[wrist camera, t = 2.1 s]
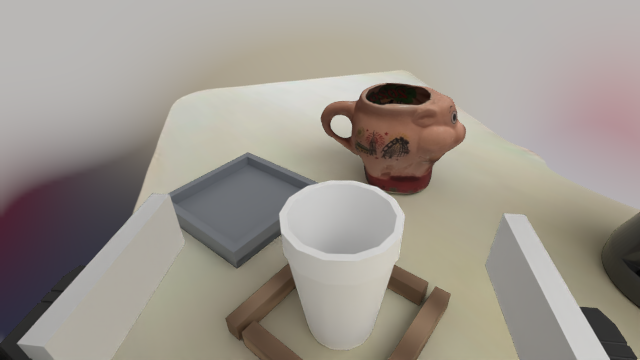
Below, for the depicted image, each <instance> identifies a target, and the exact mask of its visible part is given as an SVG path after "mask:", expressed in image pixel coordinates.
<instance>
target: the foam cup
mask: <svg viewBox="0 0 640 360" xmlns="http://www.w3.org/2000/svg"><path fill="white" fill-rule="evenodd" d="M279 217H280V227H281V237H282V245H283V253H284V256H285V257H286V258H287V260H288V262H289V265H290V268H291V271H292V275H293V278H294V281H295V285H296V288H297V291H298V294H299V298H300V301H301V304H302V307H303V311H304V314H305V317H306V321H307V324H308V327H309V329H310V332H311V333H312V335H313V336H314V337H315V339H316V340H317V341H318V343H320V344H322V345H324V346H326V347H328V348H330V349H332V350H350V349H352V348H355V347H357V346H360V345H362V344H363V343H364V342H365V340H366V339H367V338H368V337H369V336H370V335H371V332H372V330H373V327H374V324H375V321H376V318H377V315H378V312H379V309H380V306H381V303H382V300H383V297H384V294H385V291H386V288H387V285H388V282H389V279H390V276H391V272H392V269H393V266H394V263H395V262H396V261H397V260H398V259H399V255H400V248H401V241H402V234H403V227H404V220H405V215H404V213H403V211H402V210H401V208H400V206H399V204H398V203H397V201H396V199H394V198H393V197H391V196H390V195H388V194H387V193H385V192H384V191H382V190H381V189H379V188H378V187H375V186H372V185H368V184H364V183H361V182H357V181H337V180H330V181H326V182H322V183H318V184H314V185H310V186H307V187H305V188H303V189H302V190H300V191H299V192H297V193H295V194H294V195H292V196H291V197H289V198H288V200H287V202H286V203H285V205H284V206H283V208H282V210H281V211H280V213H279Z"/></svg>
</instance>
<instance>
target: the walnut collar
mask: <svg viewBox="0 0 640 360" xmlns="http://www.w3.org/2000/svg"><path fill="white" fill-rule="evenodd" d="M295 287H296V285H295V281H294V278H293V275H292V271H291V268H290V265H289V263H288V264H287V265H286V266H285V267H284V268H283V269H281V270H280V271H279V272H278V273H277V274H276V275H275V276H273V277H272V278H271V279H270V280H269V281H268V282H267V283H265V284H264V285H263V286H262V287H261V288H260V289H259V290H257V291H256V292H255V293H254V294H253V295H252V296H251V297H249V298H248V299H247V300H246V301H245V302H244V303H243V304H241V305H240V306H239V307H238V308H237V309H236V310H234V311H233V312H232V313H231V314H230V315H229V316H228V317H226V318H225V319H226V322H227V325H228V329H229V331H230V332H231V333H232V334H233V335H234V336H235V337H236V338H237V339H238V340H241V339H242V338H243V340H244V343H245V346H246V347H247V348H249V349H250V350H251V351H252V352H253V353H254V354H255V355H256V356H258V357H259V358H260V359H261V360H302V359H301V358H300V357H299V356H298V355H296V354H295V353H294V352H293V351H291V350H290V349H289V348H288V347H287V346H285V345H284V344H283V343H282V342H280V341H279V340H278V339H277V338H275V337H274V336H273V335H272V334H271V333H269V332H268V331H267V330H266V329H264V328H263V327H262V326H261V325H260V324H258V323H259V322H260V321H261V320H262V319H263V318H264V317H265V316H266V315H267V314H268V313H269V312H270V311H271V310H272V309H273V308H274V307H275V306H276V305H277V304H278V303H279V302H281V301H282V300H283V299H284V298H285V297H286V296H287V295H288V294H289V293H290V292H291V291H292V290H293V289H294V288H295ZM427 287H428V282H427V281H425V280H423V279H421V278H419V277H417V276H415V275H413V274H411V273H409V272H407V271H405V270H403V269H402V268H400V267H398V266H396V265H394V266H393V269H392V272H391V276H390V279H389V282H388V285H387V288H389V289H391V290H393V291H394V292H396V293H398V294H400V295H401V296H403V297H405V298H407V299H408V300H410V301H412V302H414V303H416V304H417V305H420V303H421V302H422V300H423V299H424V297H425V296H426V291H427ZM450 295H451V294H450V293H448V292H446V291H444V290H442V289H440V288H438V287H435V288H434V290H433V291H432V293H431V294H430V296H429V297H428V299H427V300H426V302H425V303H424V305H423V307H422V308H421V310H420V311H419V313H418V314H417V316H416V317H415V319H414V320H413V322H412V324H411V325H410V327H409V328H408V330H407V331H406V333H405V334H404V336H403V337H402V339H401V341H400V342H399V344H398V345H397V347H396V348H395V350H394V351H393V353H392V354H391V356H390V358H389V359H388V360H417V358H418V356H419V355H420V353H421V351H422V349H423V348H424V346H425V344H426V343H427V341H428V339H429V337H430V336H431V334H432V332H433V330H434V329H435V327H436V325H437V324H438V322H439V320H440V318H441V317H442V315H443V313H444V311H445V310H446V308H447V305H448V302H449V298H450Z"/></svg>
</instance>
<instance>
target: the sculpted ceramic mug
mask: <svg viewBox="0 0 640 360" xmlns="http://www.w3.org/2000/svg"><path fill="white" fill-rule="evenodd" d="M336 115H344V116H346V117H348V118H349V119H350V121H351V123H352V135H351V137H349V138H342V137H340V136H338V135H336V134H335V133H334V132H333V131H332V129H331V126H330V123H331V120H332V118H333V117H334V116H336ZM321 122H322V126H323V128H324V130H325V132H326V133H327V134H328V135H329V136H331V137H333V138H334V139H335V140H337V141H338V142H339V143H341V144H342V145H343V146H344V147H346V148H347V149H349V150H350V151H351V152H353V153H354V154H356V155H359V156H360V157H361V158H362V160H363V163H364V169H365V174H366V179H367V182H368V183H369V184H370V185H372V186H375V187H378V188H379V189H381V190H382V191H385V192H390V193H403V194H411V193H417V192H419V191H422V190H423V189H425V188H426V187H427V186H428V184H429V182H430V179H431V174H432V167H433V165H434V163H435V162H436V161H438V160H439V159H440V158H441V157H442V156H443V155H444V154H445V153H446V152H448V151H449V150H451V149H453V148H454V147H456V146H457V145H459V144H460V143H461V142H462V141H463V140H464V138H465V134H466V129H465V127H464V125H463V124H461V123H460V122H459V121H458V119H457V111H456V108H455V104H454V102H453V100H452V99H451V98H450V97H448V96H445V95H442V94H441V93H439V92H437V91H435V90H433V89H431V88H428V87H423V86H415V85H408V84H400V83H383V84H377V85H374V86H371V87H369V88H367V89H365V90H364V91H363V92H362V93H361V95H360V98H359V100H357V101H338V102H334V103H332V104H330V105H328V106H327V107H326V108H325V109H324V111H323V113H322V115H321Z"/></svg>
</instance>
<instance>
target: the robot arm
mask: <svg viewBox="0 0 640 360" xmlns="http://www.w3.org/2000/svg"><path fill="white" fill-rule="evenodd" d="M184 244H185V241H184V238H183V234H182V231H181V228H180V225H179V222H178V219H177V216H176V213H175V210H174V207H173V204H172V201H171V197H170V194H154V193H152V194H151V195H150V196H149V197H148V199H147V200H146V201H145V202H144V203H143V204H142V205H141V206H140V207H139V209H138V210H137V211H136V212H135V213H134V214H133V215H132V216H131V217H130V219H129V220H128V221H127V222H126V223H125V224H124V225H123V226H122V227H121V228H120V230H119V231H118V232H117V233H116V234H115V235H114V236H113V237H112V238H111V240H110V241H109V242H108V243H107V244H106V245H105V246H104V248H102V250H101V251H100V252H99V253H98V254H97V255H96V256H95V257H94V258H93V260H92V261H91V262H90V263H89V264H88V265H87V266H78V267H77V268H75V269H74V270H72V271H71V272H69V273H68V274H66V275H65V276H63V278H62V279H61V280H60V281H59V282H58V283H57V284H56V285H55V286H54V287H53V288H52V290H51V292H48V293H47V294H46V295H45V297H44V298H43V299H42V300H41V303H38V304H37V305H36V306H35V307H34V308H33V309H32V310H31V311H30V312H29V314H28V315H27V316H26V317H25V318H24V319H23V320H22V321H21V322H20V323H19V324H18V325H17V326H16V327H15V328H14V329H13V331H12V332H11V333H10V334H9V335H8V336H7V337H6V338H5V339H4V340H3V341H2V342H1V343H0V360H112V358H113V356H114V355H115V353H116V352H117V350H118V348H119V347H120V345H121V344H122V342H123V341H124V339H125V337H126V336H127V334H128V333H129V331H130V330H131V328H132V326H133V325H134V323H135V322H136V320H137V319H138V317H139V315H140V314H141V312H142V311H143V309H144V308H145V306H146V304H147V303H148V301H149V300H150V298H151V296H152V295H153V293H154V292H155V290H156V289H157V287H158V285H159V284H160V282H161V281H162V279H163V278H164V276H165V274H166V273H167V271H168V270H169V268H170V267H171V265H172V263H173V262H174V260H175V259H176V257H177V255H178V254H179V252H180V251H181V249H182V248H183V246H184ZM602 262H603V265H604V268H605V270H606V272H607V274H608V275H609V277H610V278H611V280H612V281H613V282H614V283H615V285H616V286H617V287H618V288H619V289H620V290H621V291H622V292H623V293H624V294H625V295H626V296H627V297H628V298H629V299H630V300H632V301H633V302H634V303H635V304H636V305H638V306H639V307H640V212H639V213H638V214H636V215H635V216H634V217H632V218H631V219H629V220H628V221H627V222H625V223H624V224H622V225H621V226H620V227H618V228H617V229H616V230H615V231H614V232H613V233H612V234H611V236H610V238H609V239H608V241H607V243H606V244H605V246H604V248H603V251H602ZM485 266H486V269H487V272H488V274H489V277H490V280H491V283H492V285H493V288H494V291H495V294H496V296H497V299H498V302H499V305H500V307H501V310H502V313H503V316H504V318H505V321H506V324H507V326H508V329H509V332H510V335H511V337H512V340H513V343H514V346H515V348H516V351H517V354H518V357H519V359H520V360H637V357H636V355H635V354H634V352H633V351H632V349H631V348H630V346H627V342H626V340H625V339H624V337H623V336H622V334H621V333H620V331H619V330H618V328H617V326H616V325H615V324H614V323H613V322H612V321H611V320H610V319H609V318H608V317H606V316H605V315H604V314H603V313H602V312H601V311H600V310H599V309H598V308H589V307H579V306H578V304H577V302H576V301H575V299H574V297H573V295H572V294H571V292H570V290H569V289H568V287H567V285H566V284H565V282H564V280H563V278H562V277H561V275H560V273H559V272H558V270H557V268H556V266H555V265H554V263H553V261H552V260H551V258H550V256H549V255H548V253H547V251H546V249H545V248H544V246H543V244H542V243H541V241H540V239H539V237H538V236H537V234H536V232H535V231H534V229H533V227H532V226H531V224H530V222H529V220H528V219H527V217H526V215H523V214H505V213H503V215H502V218H501V221H500V224H499V227H498V230H497V233H496V236H495V238H494V241H493V244H492V247H491V250H490V253H489V256H488V259H487V261H486V264H485Z"/></svg>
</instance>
